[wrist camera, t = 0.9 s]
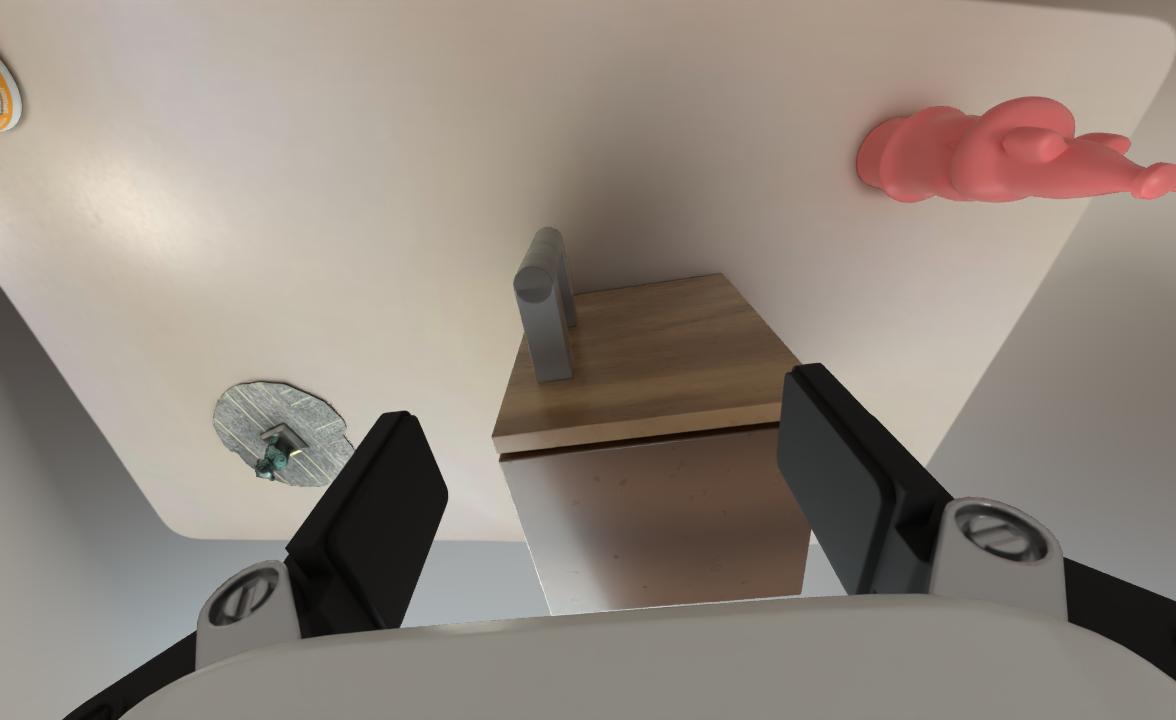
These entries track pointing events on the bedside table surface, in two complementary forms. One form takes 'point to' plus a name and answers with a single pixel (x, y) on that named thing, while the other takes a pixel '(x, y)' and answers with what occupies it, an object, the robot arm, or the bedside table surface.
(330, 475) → the sculpture
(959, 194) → the figurine
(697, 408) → the door
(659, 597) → the cabinet
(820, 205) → the bedside table surface
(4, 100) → the pill bottle
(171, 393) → the bedside table surface
